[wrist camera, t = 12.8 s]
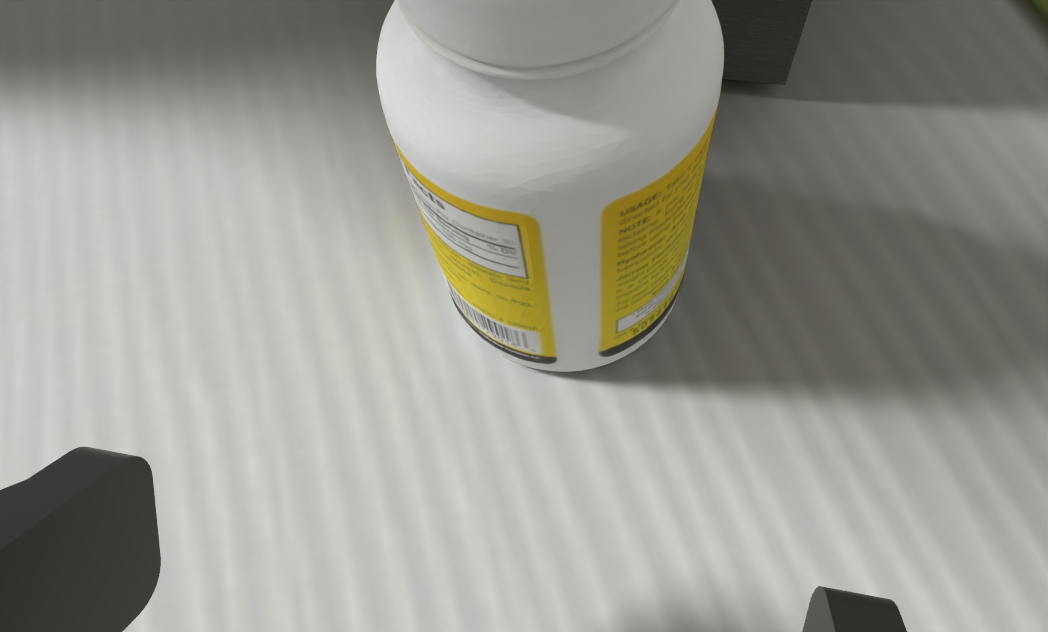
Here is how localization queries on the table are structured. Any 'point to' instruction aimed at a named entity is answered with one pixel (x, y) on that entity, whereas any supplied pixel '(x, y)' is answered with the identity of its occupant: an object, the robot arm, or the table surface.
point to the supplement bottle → (555, 161)
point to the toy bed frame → (760, 37)
